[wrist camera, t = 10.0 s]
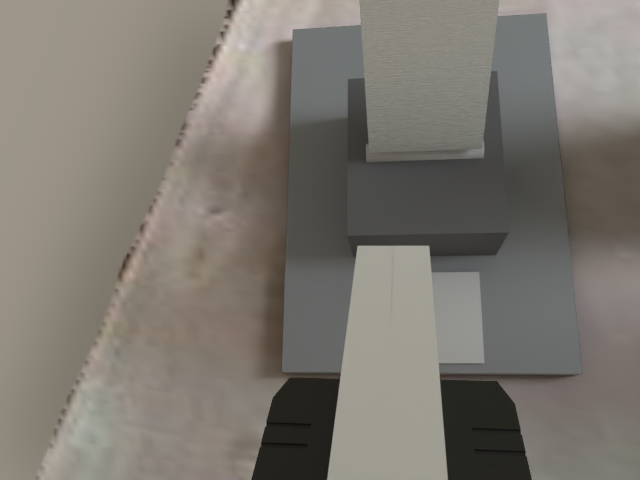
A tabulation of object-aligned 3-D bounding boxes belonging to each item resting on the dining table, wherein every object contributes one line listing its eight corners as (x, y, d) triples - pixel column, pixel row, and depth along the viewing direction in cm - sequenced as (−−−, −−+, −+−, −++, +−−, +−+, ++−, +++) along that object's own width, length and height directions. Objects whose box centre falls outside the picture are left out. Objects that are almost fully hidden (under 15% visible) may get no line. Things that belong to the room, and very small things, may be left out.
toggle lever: (484, 160, 30) (522, -167, 20) (368, 164, 31) (348, -150, 20) (476, 115, 32) (508, -198, 22) (369, 120, 33) (352, -181, 23)
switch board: (576, 375, 33) (613, 366, 27) (285, 373, 35) (262, 364, 29) (541, 24, 39) (566, -43, 34) (295, 40, 41) (278, -22, 36)
